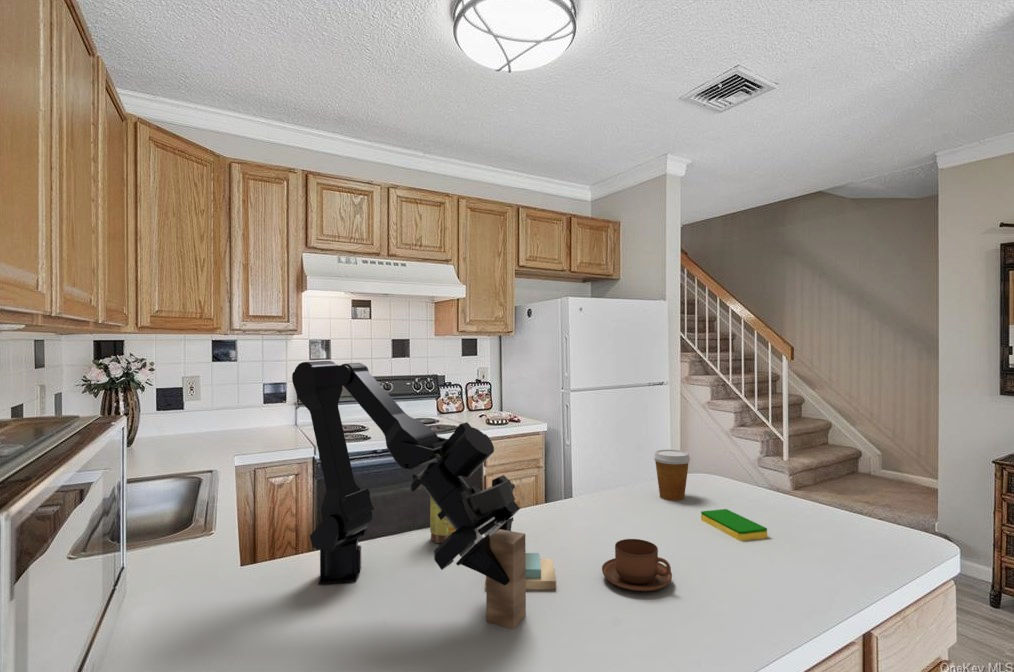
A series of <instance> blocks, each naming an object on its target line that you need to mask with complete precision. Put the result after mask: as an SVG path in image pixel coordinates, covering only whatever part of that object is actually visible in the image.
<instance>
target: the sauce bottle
mask: <svg viewBox="0 0 1014 672" xmlns="http://www.w3.org/2000/svg"><path fill="white" fill-rule="evenodd" d="M440 459H441V456H440V457H437V458H436V463H437V462H438V461H439V460H440ZM429 497H430V496H429ZM429 508H430V519H429V520H430V521H429V522H430V524H429V525H430V526H429V527H430V539H431V540H432V542H433V543H435V544H436V543H437V544H441V543H442V542H443V541H444V540H445V539H446V538H447V537H448V536H450V535H451V534H452V533H453V532H454V531H456V530H455V529H454V527H453V526H452V525H451V523H450V522H449V521H448V519H447V518H444V519H442V520H440V518H439V517H438V516H437V515H438V514H439V513H440V512H441V510H440V509H439V507H438V506H437V505H436V503H435V502H434V501H433V499H432V498H431V497H430V507H429Z"/></svg>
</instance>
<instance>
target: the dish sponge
mask: <svg viewBox="0 0 1014 672" xmlns="http://www.w3.org/2000/svg"><path fill="white" fill-rule="evenodd" d="M700 520H701V521H702V522H704V523H706V524H707V525H709V526H711V527H713V528H715V529H717V530H719V531H721V532H722V533H724V534H725V535H728V536H730V537H731V538H733V539H735V540H737V541H739V542H743V541H752V540H759V539H762V540H763V539H768V528H767V527H766V526H764V525H761V524H759V523H757V522H755V521H753V520H750V519H748V518H746V517H744V516H742V515H740V514H738V513H735V512H734V511H731V510H729V509H728V508H723V509H721V508H720V509H714V510H713V509H711V510H703V511H701V512H700Z"/></svg>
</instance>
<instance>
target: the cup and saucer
mask: <svg viewBox="0 0 1014 672" xmlns="http://www.w3.org/2000/svg"><path fill="white" fill-rule="evenodd" d="M614 552H615V554H614V555H615V556H614V558H612V559H609V560H607V561H605V562H604V563H603V564H602V566H601V571H602V574H603V576H604V578H605V579H607V580H608V581H609V582H610V583H611V584H613V585H615V586H616V587H619V588H622V589H625V590H629V591H634V592H653V591H656V590H660V589H663V588H665V587H666V586H667V585H669V584H670V583H671V581H672V577H673V573H672V569H671V568H672V567H671V564H670V562H669V561H668V560H667V559H665V558H662V557H658V556H659V554H658V553H659V548H658V546H657V545H656V544H655V543H653V542H650V541H647V540H644V539H640V538H639V539H638V538H625V539H621V540H618V541H617V542H616V543H615V545H614ZM662 563H663V564H662Z"/></svg>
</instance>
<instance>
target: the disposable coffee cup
mask: <svg viewBox="0 0 1014 672" xmlns="http://www.w3.org/2000/svg"><path fill="white" fill-rule="evenodd" d="M653 459H654V462H655V467H656V468H655V469H656V476H657V485H658V492H659V497H660V498H661V499H663V500H667V501H678V502H679V501H683V500H685V497H686V496H685V495H686V487H687V479H688V471H689V463H690V461H691V457H690V455H689V452H686V451H685V450H679V449H670V448H669V449H668V448H667V449H657V450H655V452H654V455H653Z"/></svg>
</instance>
